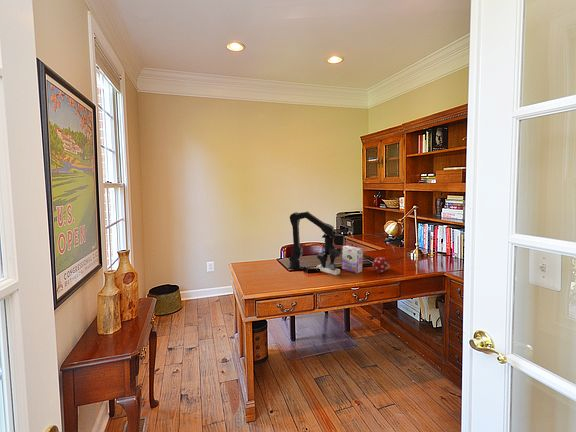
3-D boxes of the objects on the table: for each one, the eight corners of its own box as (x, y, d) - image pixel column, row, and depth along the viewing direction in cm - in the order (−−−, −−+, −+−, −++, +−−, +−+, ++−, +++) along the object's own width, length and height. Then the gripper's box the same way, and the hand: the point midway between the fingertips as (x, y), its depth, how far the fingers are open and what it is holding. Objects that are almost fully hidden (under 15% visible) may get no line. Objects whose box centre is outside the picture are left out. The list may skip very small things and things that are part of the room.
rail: (316, 270, 225) (316, 266, 224) (321, 268, 228) (321, 264, 228) (335, 275, 214) (336, 271, 214) (340, 273, 218) (340, 269, 217)
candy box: (362, 271, 222) (363, 248, 219) (357, 273, 218) (358, 250, 215) (346, 267, 232) (347, 244, 229) (341, 268, 228) (342, 246, 225)
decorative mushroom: (389, 256, 229) (377, 252, 220) (398, 267, 222) (386, 264, 212) (378, 266, 234) (366, 263, 224) (387, 278, 226) (375, 275, 217)
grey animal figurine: (320, 269, 224) (320, 261, 223) (322, 268, 226) (323, 260, 225) (333, 273, 217) (334, 265, 216) (336, 272, 219) (336, 264, 218)
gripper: (330, 249, 206) (330, 272, 209) (346, 243, 219) (345, 265, 222) (316, 246, 213) (316, 268, 216) (333, 240, 227) (332, 262, 230)
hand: (328, 266), depth 221 cm, fingers open, 9 cm apart
